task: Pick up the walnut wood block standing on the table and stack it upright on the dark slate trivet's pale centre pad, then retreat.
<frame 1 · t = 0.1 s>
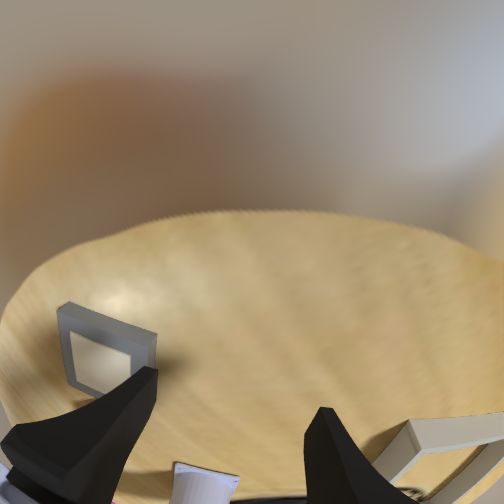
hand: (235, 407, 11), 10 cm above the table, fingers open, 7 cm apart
grey corral: (423, 474, 27), on the table
slate trivet: (110, 357, 24), on the table
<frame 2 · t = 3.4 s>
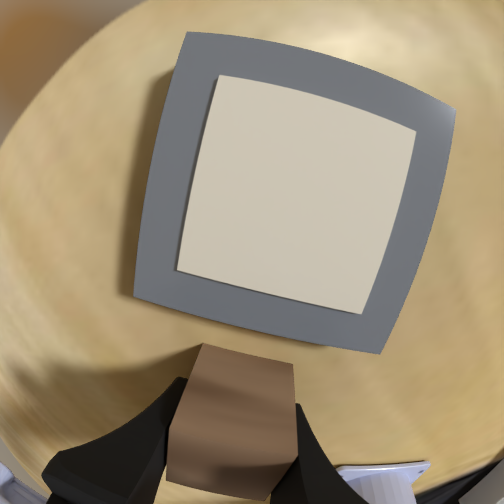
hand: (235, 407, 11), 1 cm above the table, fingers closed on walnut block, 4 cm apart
walnut block: (238, 386, 13), on the table, touching gripper
slate trivet: (293, 191, 10), on the table
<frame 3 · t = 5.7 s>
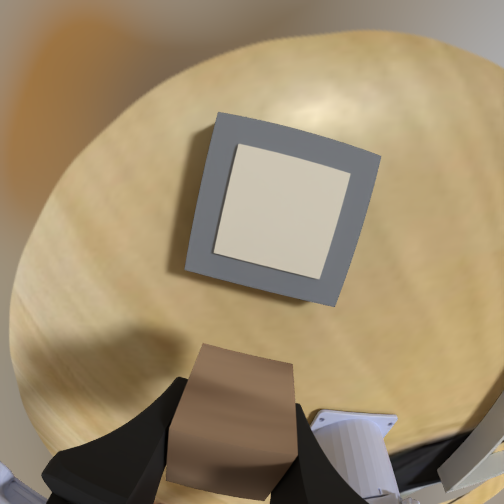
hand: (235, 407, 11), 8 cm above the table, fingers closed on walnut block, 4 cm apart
walnut block: (238, 386, 13), point 7 cm above the table, touching gripper
slate trivet: (280, 207, 17), on the table
when the fingers open (5 cm above the table, at t = 8.3 s): walnut block drops 1 cm, resting on slate trivet.
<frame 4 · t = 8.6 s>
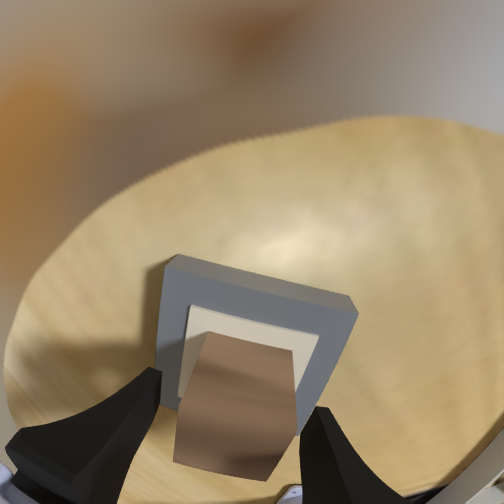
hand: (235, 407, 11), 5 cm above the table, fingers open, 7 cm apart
walnut block: (241, 372, 14), point 2 cm above the table, touching slate trivet
slate trivet: (245, 348, 16), on the table
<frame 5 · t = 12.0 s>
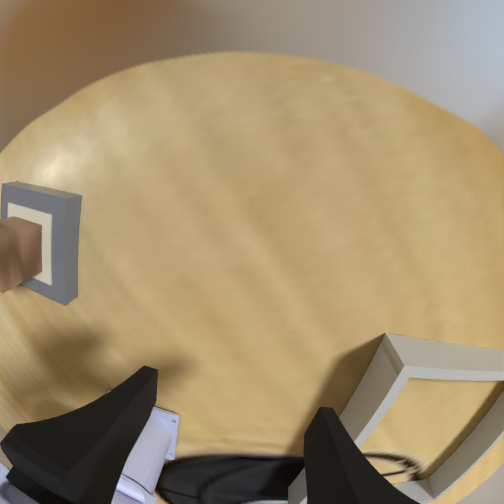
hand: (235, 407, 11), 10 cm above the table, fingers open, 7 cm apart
grey corral: (417, 436, 25), on the table
walnut block: (27, 243, 19), point 2 cm above the table, touching slate trivet
slate trivet: (42, 237, 21), on the table
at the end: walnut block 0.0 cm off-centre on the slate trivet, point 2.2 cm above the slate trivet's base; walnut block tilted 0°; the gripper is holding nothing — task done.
